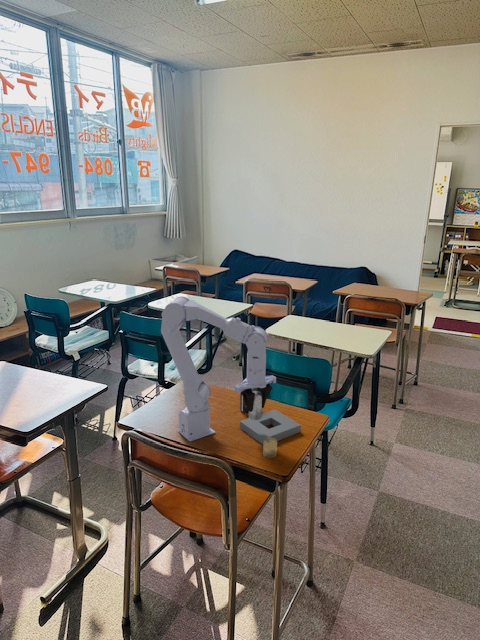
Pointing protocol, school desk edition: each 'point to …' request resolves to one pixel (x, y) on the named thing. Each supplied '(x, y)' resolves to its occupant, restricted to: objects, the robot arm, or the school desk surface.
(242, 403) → the battery charger
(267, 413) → the hole board
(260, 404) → the long pin
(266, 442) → the short pin
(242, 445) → the school desk surface
